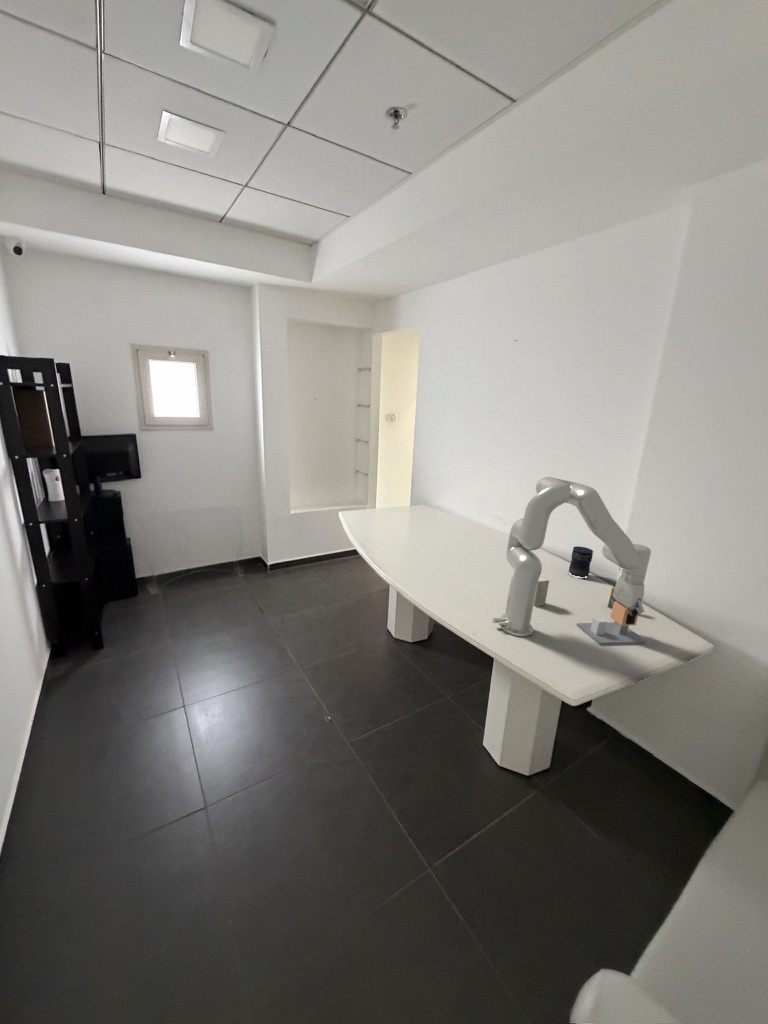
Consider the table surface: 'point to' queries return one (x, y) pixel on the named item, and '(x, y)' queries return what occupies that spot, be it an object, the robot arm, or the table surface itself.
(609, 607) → the crayon box
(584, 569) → the storage jar
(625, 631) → the post
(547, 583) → the skincare box
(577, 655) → the table surface
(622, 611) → the tan matte cube
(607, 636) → the board
